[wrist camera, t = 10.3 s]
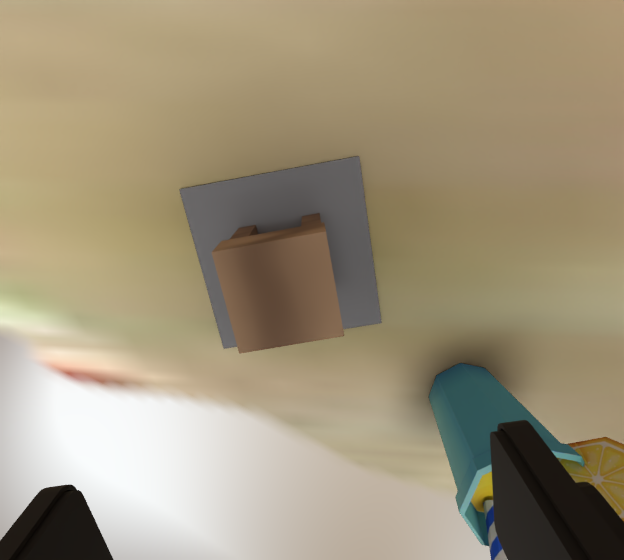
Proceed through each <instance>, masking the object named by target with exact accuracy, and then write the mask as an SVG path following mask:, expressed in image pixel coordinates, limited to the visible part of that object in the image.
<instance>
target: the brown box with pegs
mask: <svg viewBox="0 0 624 560" xmlns="http://www.w3.org/2000/svg"><path fill="white" fill-rule="evenodd" d="M212 256H213V260H214V263H215V267H216V271H217V274H218V278H219V281H220V285H221V289H222V292H223V296H224V300H225V303H226V307H227V311H228V314H229V318H230V322H231V325H232V329H233V333H234V336H235V340H236V343H237V347H238V351H239V353H245V352H251V351H257V350H263V349H269V348H275V347H281V346H287V345H293V344H299V343H305V342H311V341H317V340H323V339H328V338H334V337H340V336H344V331H343V326H342V320H341V314H340V309H339V303H338V297H337V292H336V286H335V280H334V274H333V269H332V263H331V257H330V252H329V246H328V240H327V235H326V229H325V224H324V222H322V223H321V218H320V213H316V214H311V215H306V216H302V222H301V226H300V227H295V228H289V229H284V230H279V231H273V232H268V233H262V234H258V232H257V228H256V225H252V226H246V227H241V228H238V229H237V231H236V232H235V233H234V234H233V235H232V237H231V238H230V239H229V240H224V241H221V242H220V243H219V244H218V245H217V247H216V248H215V249H214V250H213V251H212Z"/></svg>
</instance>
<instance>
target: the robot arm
mask: <svg viewBox="0 0 624 560" xmlns="http://www.w3.org/2000/svg"><path fill="white" fill-rule="evenodd" d="M490 447H491V467H492V488H493V508H494V524H495V530H496V533H497V536H498V539H499V542H500V544H501V546H502V548H503V551H504V553H505V555H506V557H507V559H508V560H624V521H623V520H622V519H621V518H620V517H619V515H618V514H617V513H616V512H615V510H614V509H613V508H612V507H611V506H610V504H609V503H608V502H607V501H606V499H605V498H604V497H603V496H602V494H601V493H600V492H599V491H598V490H597V489H596V488H595V487H594V486H593V485H591V484H590V483H588V482H577V483H576V482H575V481H574V480H573V478H572V477H571V476H570V474H569V473H568V472H567V471H566V469H565V468H564V467H563V465H562V464H561V463H560V461H559V460H558V459H557V457H556V456H555V455H554V454H553V452H552V451H551V450H550V448H549V447H548V446H547V444H546V443H545V442H544V441H543V439H542V438H541V437H540V435H539V434H538V433H537V431H536V430H535V429H534V427H533V426H532V425H531V424H530V423H529V422H528V421H527V420H519V421H512V422H505V423H499V424H498V426H497V431H494V432H491V433H490ZM0 560H113V558H112V556H111V554H110V552H109V549H108V547H107V545H106V543H105V541H104V539H103V537H102V534H101V533H100V530H99V528H98V526H97V524H96V522H95V519H94V517H93V515H92V513H91V511H90V509H89V507H88V505H87V502H86V500H85V498H84V496H83V494H82V493H81V491H79V490H76V488H75V487H74V486H73V485H62V486H55V487H49V488H44V489H43V490H41V491H40V492H39V493H38V494H37V495H36V496H35V498H34V499H33V500H32V502H31V503H30V504H29V505H28V506H27V508H26V509H25V510H24V512H23V513H22V514H21V515H20V517H19V518H18V519H17V520H16V522H15V523H14V524H13V525H12V527H11V528H10V529H9V531H8V532H7V533H6V535H5V536H4V537H3V538H2V539H1V541H0Z"/></svg>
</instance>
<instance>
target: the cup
mask: <svg viewBox="0 0 624 560" xmlns="http://www.w3.org/2000/svg"><path fill="white" fill-rule="evenodd" d="M429 400H430V403H431V406H432V409H433V412H434V416H435V419H436V422H437V425H438V428H439V432H440V435H441V438H442V441H443V444H444V448H445V451H446V454H447V457H448V460H449V464H450V467H451V470H452V473H453V476H454V480H455V483H456V486H457V489H458V492H457V495H456V501H457V505H458V509H459V512H460V514H461V515H462V517H463V518H464V520H465V521H466V523H467V524H468V526H469V527H470V528H471V530H472V531H473V533H474V534H475V536H476V537H477V539H478V540H479V542H480V543H481V544H482V545H486V546H489V547H490V554H491V560H507V557H506V555H505V553H504V551H503V548H502V546H501V544H500V542H499V539H498V536H497V533H496V530H495V524H494V508H493V488H492V467H491V447H490V433H491V432H494V431H497V426H498V424H499V423H505V422H512V421H519V420H527V421H528V422H529V423H530V424H531V425H532V426H533V427H534V429H535V430H536V431H537V433H538V434H539V435H540V437H541V438H542V439H543V441H544V442H545V443H546V444H547V446H548V447H549V448H550V450H551V451H552V452H553V454H554V455H555V456H556V457H557V459H558V460H559V461H560V463H561V464H562V465H563V467H564V468H565V469H566V471H567V472H568V473H569V474H570V476H571V477H572V478H573V480H574V481H575V482H576V483H577V482H588V483H590V484H591V485H593V486H594V487H595V488H596V489H597V490H598V491H599V492H600V493H601V494H602V496H603V497H604V498H605V499H606V501H607V502H608V503H609V504H610V506H611V507H612V508H613V509H614V510H615V512H616V513H617V514H618V515H619V517H620V518H621V519H622V520H623V521H624V444H621V443H619V442H617V441H614V440H612V439H610V438H607V437H603V438H597V439H592V440H587V441H581V442H576V443H570V444H562V443H560V442H559V441H558V440H557V439H556V438H555V437H554V436H553V435H552V434H551V433H550V432H549V431H548V430H547V429H546V428H545V427H544V426H543V425H542V424H541V423H540V422H539V421H538V420H537V419H536V418H535V417H534V416H533V415H532V414H531V413H530V412H529V411H528V410H527V409H526V408H525V407H524V406H523V405H522V404H521V403H520V402H519V401H518V400H517V399H515V398H514V397H513V396H512V395H511V394H510V393H509V392H508V391H507V390H506V389H505V388H504V387H503V386H502V385H501V384H500V383H499V382H498V381H497V380H496V379H495V378H494V377H493V376H492V375H491V374H490V373H489V372H488V371H487V370H486V369H485V368H483V367H478V366H473V365H468V364H463V363H459V364H457V365H455V366H453V367H451V368H449V369H448V370H446V371H444V372H442V373H440V374H438V375H436V378H435V381H434V384H433V386H432V389H431V392H430V394H429Z"/></svg>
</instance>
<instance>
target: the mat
mask: <svg viewBox="0 0 624 560" xmlns="http://www.w3.org/2000/svg"><path fill="white" fill-rule="evenodd" d="M179 190H180V194H181V197H182V201H183V205H184V208H185V212H186V215H187V219H188V222H189V226H190V230H191V233H192V237H193V240H194V244H195V247H196V251H197V255H198V258H199V262H200V265H201V269H202V272H203V276H204V280H205V283H206V287H207V290H208V294H209V298H210V301H211V305H212V308H213V312H214V315H215V319H216V323H217V326H218V330H219V333H220V337H221V340H222V344H223V348H224V349H225V348H231V347H237V343H236V340H235V336H234V333H233V329H232V325H231V322H230V318H229V314H228V311H227V307H226V303H225V300H224V296H223V292H222V289H221V285H220V281H219V278H218V274H217V271H216V267H215V263H214V260H213V256H212V251H213V250H214V249H215V248H216V247H217V245H218V244H219V243H220V242H221V241H224V240H229V239H230V238H231V237H232V235H233V234H234V233H235V232H236V231H237V229H238V228H241V227H246V226H252V225H256V228H257V232H258V234H262V233H268V232H273V231H279V230H284V229H289V228H295V227H300V226H301V222H302V216H306V215H311V214H316V213H320V218H321V223H322V222H324V224H325V229H326V235H327V240H328V246H329V252H330V257H331V263H332V269H333V274H334V280H335V286H336V292H337V297H338V303H339V309H340V314H341V320H342V326H343V329H348V328H354V327H360V326H366V325H372V324H378V323H381V315H380V308H379V300H378V293H377V285H376V278H375V270H374V263H373V255H372V248H371V241H370V233H369V226H368V218H367V211H366V203H365V196H364V188H363V181H362V173H361V166H360V158H359V156H356V157H350V158H345V159H339V160H334V161H329V162H323V163H318V164H312V165H307V166H302V167H296V168H291V169H285V170H280V171H275V172H269V173H264V174H258V175H253V176H248V177H242V178H237V179H231V180H226V181H221V182H215V183H210V184H204V185H199V186H194V187H188V188H183V189H179Z"/></svg>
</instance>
